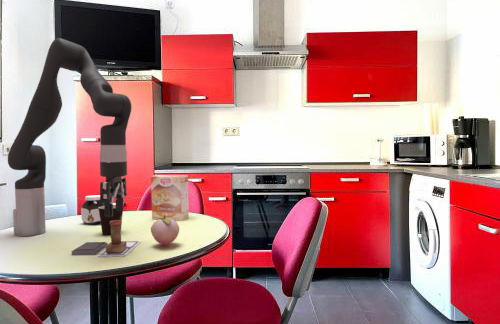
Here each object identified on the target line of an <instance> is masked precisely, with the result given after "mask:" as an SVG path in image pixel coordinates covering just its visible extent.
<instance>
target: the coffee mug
mask: <svg viewBox="0 0 500 324" xmlns="http://www.w3.org/2000/svg"><path fill="white" fill-rule="evenodd" d="M98 209H99V215H100V221H101V224H100V227H101V233H102V235H103V236H111V225H110V221H113V220H122V221H123V215H124V214H123V213H124V210H123V211H116V204H113V216H112V217H105V216H104V206H101V207H98ZM122 224H123V223H122ZM122 224H121V227H122Z"/></svg>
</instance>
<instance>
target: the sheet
mask: <svg viewBox="0 0 500 324" xmlns="http://www.w3.org/2000/svg"><path fill="white" fill-rule="evenodd" d="M125 241H126V250H125V251H123V252H122V253H121V254H107V252H106V249H105V250H104V251H103V250H102V252H101V253H98V255H97V258H103V257H104V258H105V257H108V258H109V257H111V258H112V257H113V258H114V257H115V258H116V257H127V255H128V254H129V253H131V252H132V251H133V250H134V249H135V248H136V247H137V246H139V244H141V243H142V241H140V240H139V241H138V240H132V241H127V240H125Z"/></svg>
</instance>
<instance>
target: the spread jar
mask: <svg viewBox="0 0 500 324" xmlns="http://www.w3.org/2000/svg"><path fill="white" fill-rule="evenodd" d="M84 200H85V201H84V202H83V203H82V205H81V206H80V207H81V208H80V214H81V221H82V222H83V223H84V224H85V225H86V226H98V225H101V221H100V215H99V209H98V207H101V206H104V204H103V203H100V194H98V195H97V194H95V195H86V196H85V198H84Z"/></svg>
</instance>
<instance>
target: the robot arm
mask: <svg viewBox="0 0 500 324" xmlns="http://www.w3.org/2000/svg"><path fill="white" fill-rule="evenodd" d="M42 68H43V69H42V73H41V75H40V78H39V81H38V84H37V86H36V89H35V91H34V93H33V96H32V99H31V101H30V104H29V106H28V109H27V111H26V115H25V117H24V120H23V122H22V125H21V127H20V129H19V131H18V133H17V135H16V136H15V138H14V140H13V142H12V144H11V146H10V149H9V151H8V153H7V164H8V166H9V168H11V170H15V171H27V173H26V175H24V176H23V177H21V178H20V179H17V180H16V181H15V182H14V197H15V199H14V200H15V208H14V209H13V210H12V215H13V216H12V218H13V219H12V220H13V236H17V237H29V236H30V237H32V236H37V235H42V234H45V232H47V231H46V227H47V226H46V204H45V203H46V202H45V200H46V199H45V181H46V177H47V176H46V175H47V174H46V170H47V157H46V152H45V149H44V148H43V146H41V145H38V144H37V145H35V144H34V143H35V142H36V140H37V139H38V138H39V137H41V135H43V133H45V132H46V131H48V130H49V129H50V128H51V127H52V126H53V125H54V124H55V123H56V122H57V120H58V118H59V115H60V113H61V110H62V107H63V100H62V97H61V93H60V89H59V86H58V74H59V72H60V69H64V70H68V71H72V72H77V73H79V74H80V79H79V80H80V84H81V87H82V89H83V91H85V92H86V94H87V96H89V98H90V100H91V104H92V109H93V110H94V112H95V113H96V114H98V116H101V117H107V118H108V117H109V118H111V117H112V118H114V119H113V122H112V123H111V124H105V125H103V126H101V128H100V130H99V132H100V137H99V138H100V147H99V149H100V150H99V175H100V177H102V178H104V177H105V180H104V181H100V183H99V195H100V203H103V204H104V216H105V217H112V216H113V205H114V204H113V203H114V200H115V205H116V211H123V212H124V209H125V208H124V200H125V197H127V194H128V193H127V177H126V176H127V175H128V151H127V142H126V141H127V139H126V138H127V137H126V132H127V128H128V125H129V120H130V116H131V113H132V102H131V100H130V98H129V97H128V96H127V95H125V94H122V93H114V90H113V87H112V85H111V84H110V83H109V82H108V81H107V80H106V77H104V76H103V75H102V74H101V73H100V72H99V70H98V69H97V66H96V65H95V63H94V61H93V59H92V58H91V56H90V54H89V52H88V51H87V49H86V48H85V47H84V46H82V45H80V44H79V43H78V44H77V43H75V42H72V41H69V40H67V39H65V38H61V37H60V38H59V37H57V38H55V39H53V41H52V42H51V44H50V46H49V48H48V51H47V55H46V58H45V62H44V65H43V67H42Z"/></svg>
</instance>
